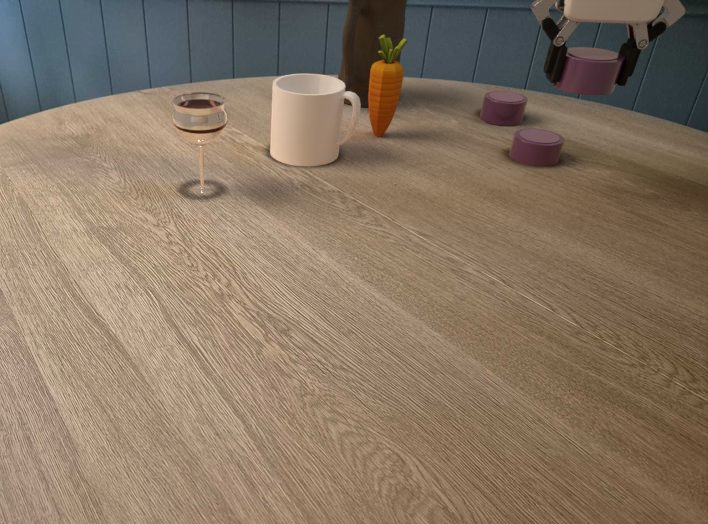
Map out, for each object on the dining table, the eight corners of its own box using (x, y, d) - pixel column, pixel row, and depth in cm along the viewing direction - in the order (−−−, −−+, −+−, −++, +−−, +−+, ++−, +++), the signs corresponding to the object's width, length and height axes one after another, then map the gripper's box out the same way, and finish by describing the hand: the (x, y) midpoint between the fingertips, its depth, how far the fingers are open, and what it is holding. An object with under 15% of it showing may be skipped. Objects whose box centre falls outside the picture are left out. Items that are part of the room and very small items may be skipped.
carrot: (397, 136, 104) (413, 32, 94) (389, 146, 100) (405, 40, 91) (366, 131, 105) (379, 29, 96) (357, 141, 102) (370, 36, 92)
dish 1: (517, 113, 113) (522, 90, 110) (526, 127, 107) (532, 103, 105) (476, 111, 113) (481, 89, 111) (483, 125, 108) (488, 102, 106)
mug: (259, 162, 95) (260, 89, 88) (284, 139, 102) (288, 70, 96) (342, 178, 91) (351, 102, 84) (363, 153, 98) (372, 81, 92)
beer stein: (347, 84, 125) (357, -36, 111) (403, 92, 121) (420, -31, 108) (318, 114, 114) (325, -14, 101) (378, 123, 111) (393, -8, 97)
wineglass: (209, 178, 90) (207, 88, 83) (238, 196, 86) (238, 102, 79) (167, 190, 87) (160, 98, 80) (195, 209, 83) (191, 113, 75)
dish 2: (550, 153, 98) (557, 128, 96) (562, 171, 93) (570, 145, 91) (503, 151, 99) (510, 126, 97) (513, 168, 94) (520, 143, 91)
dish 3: (603, 79, 80) (614, 47, 78) (622, 96, 75) (634, 62, 73) (545, 77, 81) (554, 44, 79) (560, 94, 76) (570, 60, 73)
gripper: (716, -104, 69) (649, 75, 80) (544, -106, 70) (502, 69, 81) (751, -98, 63) (674, 94, 74) (562, -101, 64) (514, 87, 75)
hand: (584, 80), depth 77 cm, fingers closed on dish 3, 6 cm apart
